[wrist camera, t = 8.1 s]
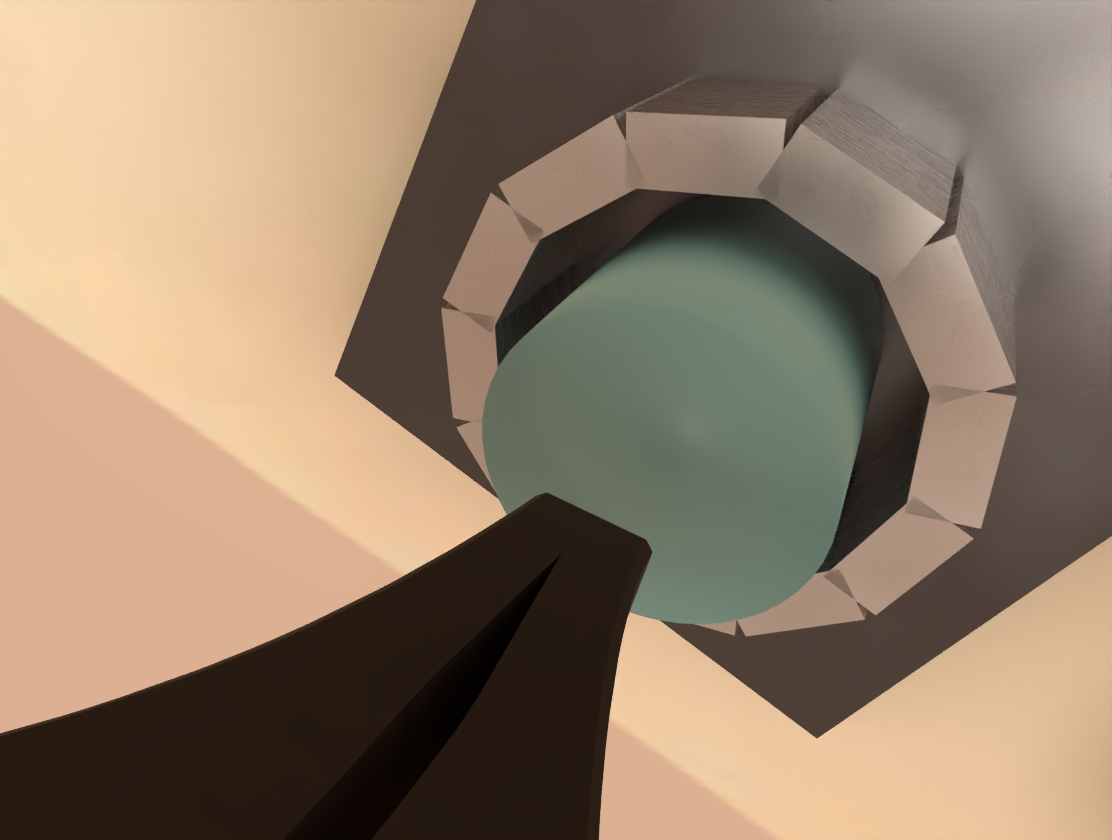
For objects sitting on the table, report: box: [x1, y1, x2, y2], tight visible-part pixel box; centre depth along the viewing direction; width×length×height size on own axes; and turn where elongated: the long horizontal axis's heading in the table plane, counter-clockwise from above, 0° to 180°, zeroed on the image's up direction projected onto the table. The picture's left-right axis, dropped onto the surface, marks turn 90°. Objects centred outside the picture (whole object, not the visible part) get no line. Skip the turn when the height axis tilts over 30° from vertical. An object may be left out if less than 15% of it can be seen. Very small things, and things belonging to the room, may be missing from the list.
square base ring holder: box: [335, 0, 1112, 738], centre depth 14 cm, size 14×14×4 cm
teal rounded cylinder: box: [482, 195, 884, 624], centre depth 13 cm, size 5×5×5 cm
